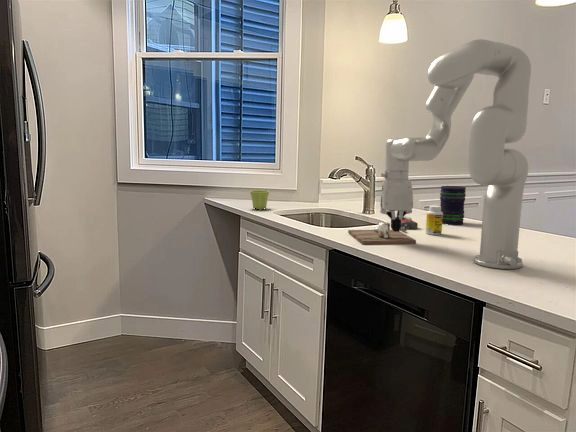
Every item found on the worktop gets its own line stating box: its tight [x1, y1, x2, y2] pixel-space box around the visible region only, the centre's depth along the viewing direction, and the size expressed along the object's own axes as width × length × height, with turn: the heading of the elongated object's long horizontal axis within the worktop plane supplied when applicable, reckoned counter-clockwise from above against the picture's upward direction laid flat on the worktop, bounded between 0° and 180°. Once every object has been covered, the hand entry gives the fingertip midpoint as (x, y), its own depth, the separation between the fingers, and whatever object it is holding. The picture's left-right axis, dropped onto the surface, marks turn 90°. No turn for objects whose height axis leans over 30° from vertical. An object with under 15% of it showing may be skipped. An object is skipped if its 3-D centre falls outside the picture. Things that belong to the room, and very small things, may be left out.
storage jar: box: [439, 185, 467, 226], centre depth 201 cm, size 10×10×15 cm
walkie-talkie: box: [400, 215, 418, 232], centre depth 190 cm, size 9×4×20 cm
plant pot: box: [249, 189, 271, 210], centre depth 234 cm, size 9×9×9 cm
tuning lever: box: [373, 221, 391, 238], centre depth 169 cm, size 14×4×4 cm, turn 1°
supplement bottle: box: [425, 205, 443, 236], centre depth 178 cm, size 6×6×10 cm
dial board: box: [347, 229, 417, 246], centre depth 169 cm, size 19×18×1 cm
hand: (395, 230), depth 165 cm, fingers closed
